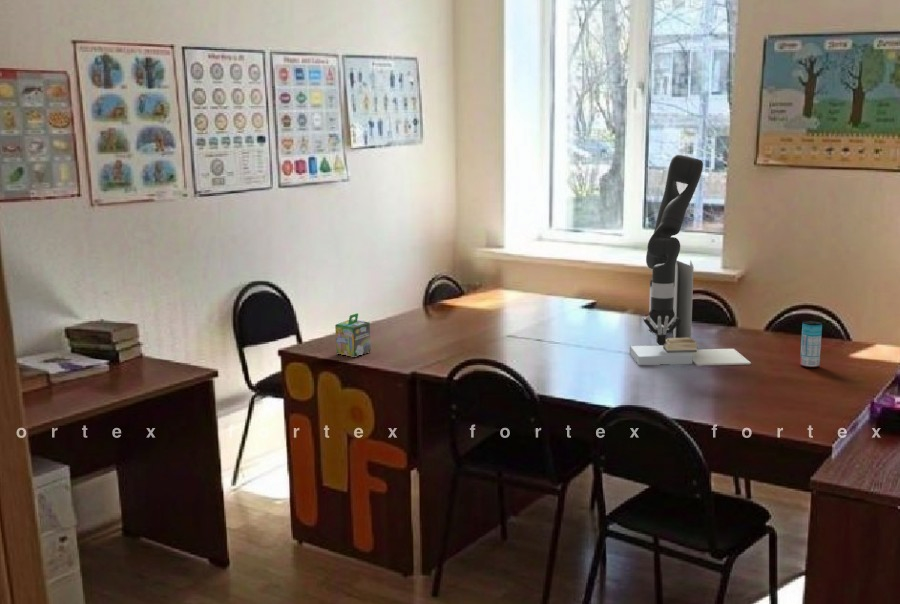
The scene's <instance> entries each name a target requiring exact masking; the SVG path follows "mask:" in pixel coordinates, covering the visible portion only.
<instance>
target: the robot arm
mask: <svg viewBox="0 0 900 604" xmlns="http://www.w3.org/2000/svg"><path fill="white" fill-rule="evenodd" d="M703 169H704V162H703V160H701V159H699V158H696V157H690V156H686V155H682V154H674V155H673V156H672V158H671V160H670V162H669V166H668V169H667V170H668V172H667V175H666V183H665V187H664V192H663V197H662V200H661V202H660V206H659V210H658V213H657V218H656V222H655V227H654V230H653V231H654V232H653V234H652V235H651V237H650V238H649V240H648V244H647V251H646V254H645V255H646V257H645V258H646V259H645V262H646V266H647V267H648V268H649V269H650V270H652V275H651V278H650V281H649V307H648V308H649V309H648V311H649V312H648V315H647V316H646V317H643V318H642V321H643V322H644V324H645V325H646V326H647V327H648V331H651V332H652V333H653V334H656V343H657V345H664V344H665V343H666V339H667V335H668V334H672V333H673V330H674V328H675V327H676V326H677V325H678V324H679V322H680V321H681V320H680V319H679V318H678V317H676V316H675V313H674V290H675V264H676V261H678V260H677V259H678V257H679V254H680V251H681V242H680V241H679V239H678V238H677V237H676V235H678V234H679V233H680V231H681V229H682V225H683V223H684V219H685V215H686V213H687V209H688V208H689V205H690V203H691V201H692V199H693V196H694V194H695V192H696V189H697V187H698V184H699V182H700V179H701V177H702V173H703ZM677 183H681V184H685V185H686V187H685V189H684V190H683V191H682V192H681V193H680V192H679V189H678V186H677ZM673 236H675V237H673Z"/></svg>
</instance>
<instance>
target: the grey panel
mask: <svg viewBox="0 0 900 604" xmlns="http://www.w3.org/2000/svg"><path fill="white" fill-rule="evenodd" d="M694 270H695V269H694V264H693V262H692V260H689V264H687V263H685V262H682V261H679V260H677V261H676V264H675V286H674V313H675V316H676V317H678V318H679V319H680V320H681V321H680V322H679V324H678V325H677V326H676V327H675V328H674V330H673V331H672V338H692V324H693V323H692V322H693V321H692V320H693V294H694V293H693V290H694Z"/></svg>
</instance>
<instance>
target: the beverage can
mask: <svg viewBox="0 0 900 604" xmlns="http://www.w3.org/2000/svg"><path fill="white" fill-rule="evenodd" d="M801 327H802V329H801V339H800V340H801V343H800V360H799V364H800V366H801V367H802V368H804V367H805V368H804V369H817V367H818V368H819V367H820V362H821V349H822V348H821V347H822V336H823V335H822V333H823V332H822V331H823V321H820V320H817V319H816V320H814V319H813V320H812V319H806V320H803V321H802V326H801Z"/></svg>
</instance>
